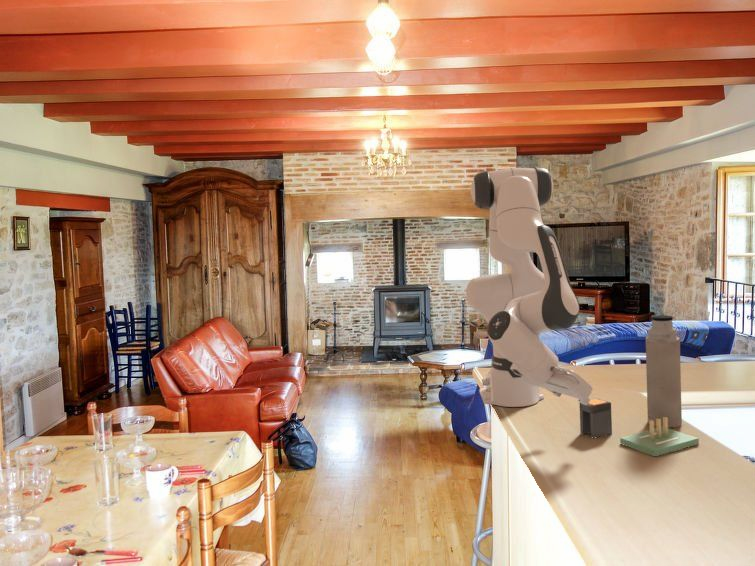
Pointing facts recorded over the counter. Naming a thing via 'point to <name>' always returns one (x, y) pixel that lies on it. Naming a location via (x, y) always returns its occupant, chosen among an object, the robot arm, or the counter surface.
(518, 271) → the robot arm
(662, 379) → the thermos bottle
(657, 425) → the header board
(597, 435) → the block
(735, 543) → the counter surface
